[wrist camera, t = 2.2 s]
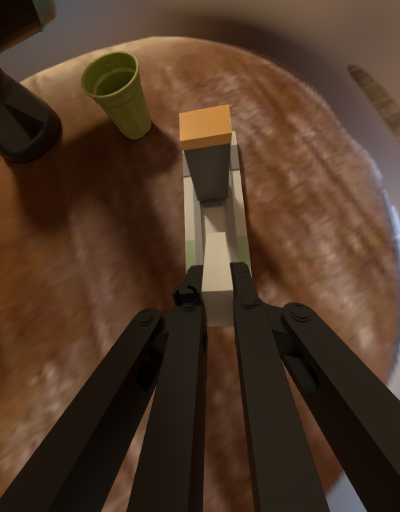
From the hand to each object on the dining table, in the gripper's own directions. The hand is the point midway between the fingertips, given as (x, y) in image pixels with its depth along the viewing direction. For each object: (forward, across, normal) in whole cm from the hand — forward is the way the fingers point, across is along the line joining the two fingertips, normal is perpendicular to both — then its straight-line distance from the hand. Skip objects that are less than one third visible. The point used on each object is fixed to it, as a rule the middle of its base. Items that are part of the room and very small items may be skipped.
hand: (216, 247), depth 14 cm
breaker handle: (+15, 0, +1) cm, 15 cm away
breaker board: (+15, 0, -1) cm, 15 cm away
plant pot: (+29, -15, +13) cm, 35 cm away
